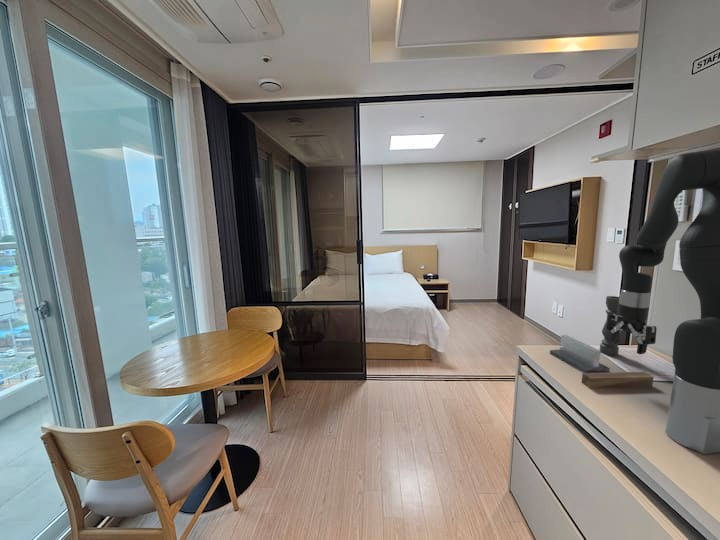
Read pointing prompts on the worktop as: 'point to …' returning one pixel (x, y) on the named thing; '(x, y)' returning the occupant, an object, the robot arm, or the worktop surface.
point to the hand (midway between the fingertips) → (627, 348)
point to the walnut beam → (617, 379)
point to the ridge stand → (579, 355)
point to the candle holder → (607, 344)
